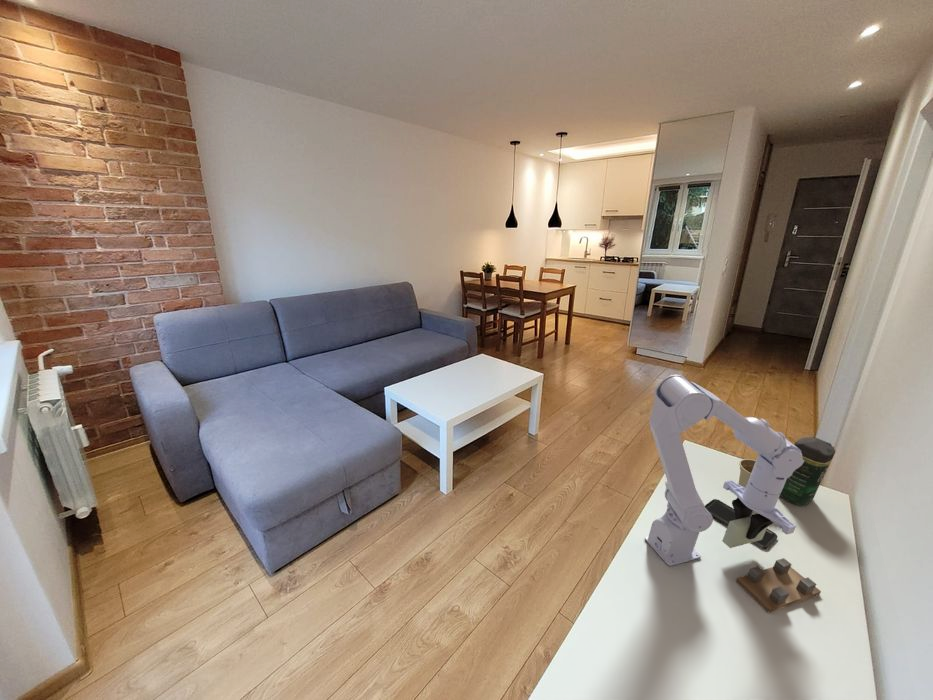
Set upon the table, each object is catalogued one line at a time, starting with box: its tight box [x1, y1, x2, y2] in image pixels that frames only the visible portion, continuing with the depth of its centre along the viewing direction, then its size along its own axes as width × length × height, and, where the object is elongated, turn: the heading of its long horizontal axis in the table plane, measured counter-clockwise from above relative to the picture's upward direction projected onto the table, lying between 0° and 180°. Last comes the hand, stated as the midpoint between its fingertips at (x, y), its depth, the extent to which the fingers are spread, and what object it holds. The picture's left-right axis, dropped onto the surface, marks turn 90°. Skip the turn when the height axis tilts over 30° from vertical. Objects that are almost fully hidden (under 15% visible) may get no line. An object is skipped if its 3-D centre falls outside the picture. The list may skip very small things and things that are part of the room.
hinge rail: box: [735, 557, 822, 613], centre depth 78 cm, size 15×7×4 cm, turn 106°
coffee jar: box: [779, 436, 836, 506], centre depth 103 cm, size 10×8×19 cm
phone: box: [704, 498, 778, 551], centre depth 95 cm, size 8×1×15 cm
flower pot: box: [738, 458, 757, 488], centre depth 105 cm, size 9×9×9 cm
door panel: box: [721, 516, 768, 549], centre depth 84 cm, size 10×2×6 cm, turn 106°
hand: (745, 533), depth 84 cm, fingers closed on door panel, 2 cm apart
